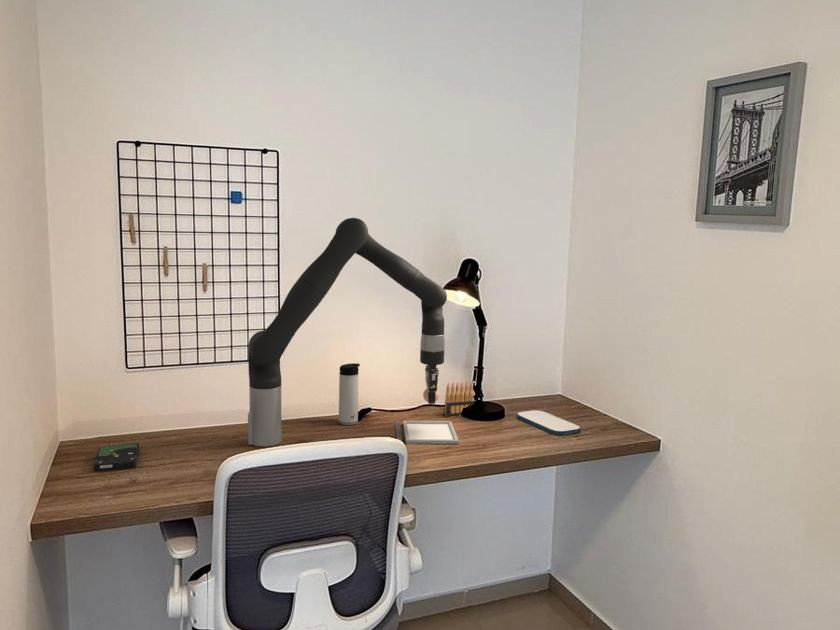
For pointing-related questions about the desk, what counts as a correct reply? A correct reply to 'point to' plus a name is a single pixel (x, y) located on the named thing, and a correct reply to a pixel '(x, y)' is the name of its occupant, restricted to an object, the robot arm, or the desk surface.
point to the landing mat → (427, 432)
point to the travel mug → (348, 394)
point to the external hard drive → (548, 422)
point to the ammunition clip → (458, 399)
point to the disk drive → (117, 457)
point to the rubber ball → (427, 395)
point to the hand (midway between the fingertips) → (430, 400)
